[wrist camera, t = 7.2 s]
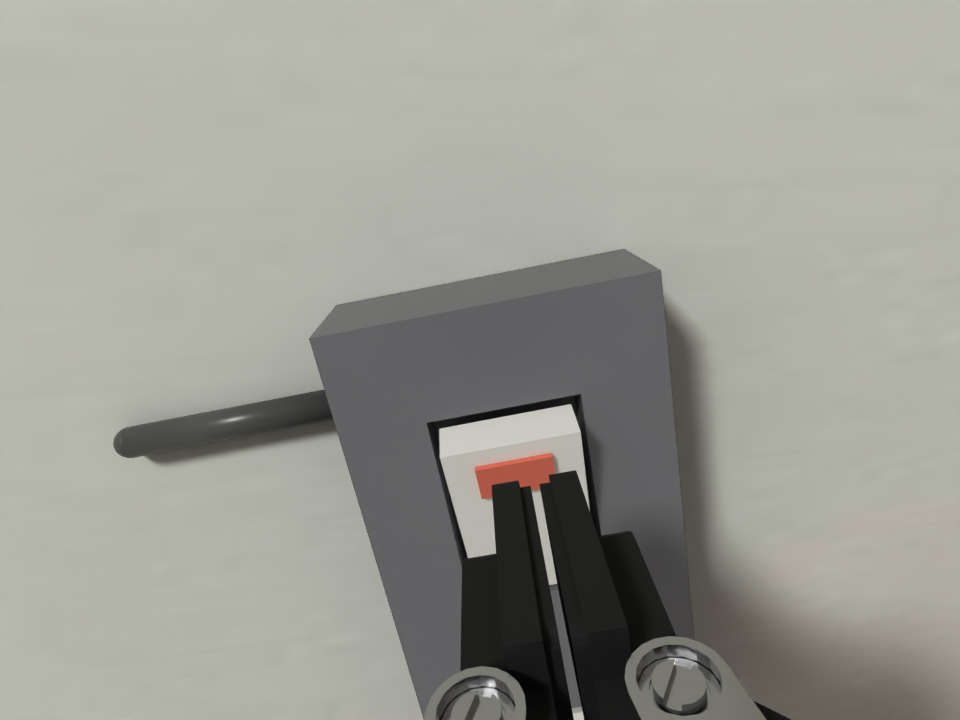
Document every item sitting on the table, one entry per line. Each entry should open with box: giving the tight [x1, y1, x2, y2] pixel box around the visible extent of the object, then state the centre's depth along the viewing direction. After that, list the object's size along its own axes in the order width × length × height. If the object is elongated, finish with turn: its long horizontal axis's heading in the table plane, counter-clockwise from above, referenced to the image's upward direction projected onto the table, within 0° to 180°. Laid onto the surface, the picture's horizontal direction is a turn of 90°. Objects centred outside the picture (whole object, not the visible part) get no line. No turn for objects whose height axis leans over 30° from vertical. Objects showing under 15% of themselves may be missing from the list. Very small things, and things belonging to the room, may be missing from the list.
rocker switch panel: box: [113, 249, 694, 718], centre depth 20 cm, size 23×17×4 cm
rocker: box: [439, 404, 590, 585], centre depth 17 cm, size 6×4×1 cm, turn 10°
